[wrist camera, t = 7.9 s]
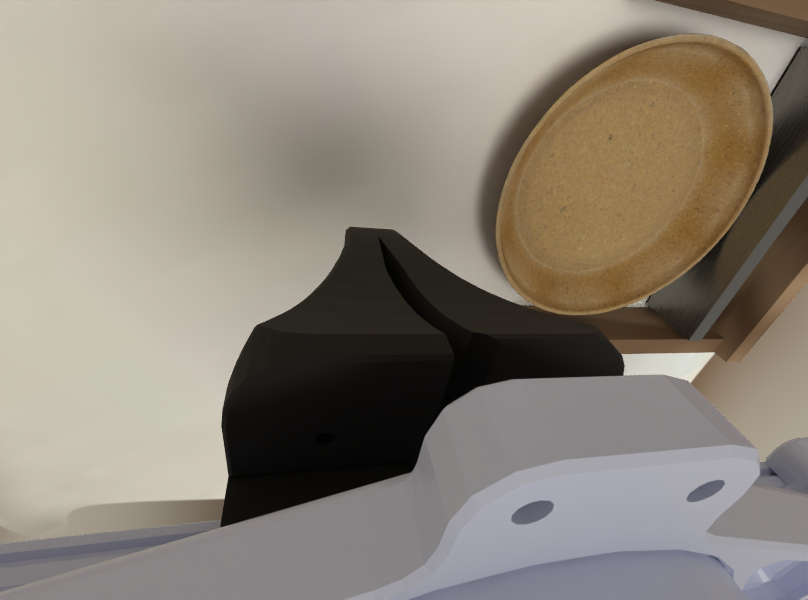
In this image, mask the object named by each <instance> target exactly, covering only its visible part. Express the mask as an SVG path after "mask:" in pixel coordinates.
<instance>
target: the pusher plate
mask: <svg viewBox="0 0 808 600" xmlns="http://www.w3.org/2000/svg"><path fill="white" fill-rule="evenodd" d="M771 100H772V106H773V128H772V136H771V143H770V146H769V152H768V156H767V158H766V162H765V165H764V168H763V171H762V173H761V175H760V178H759V180H758V182H757V184H756V186H755V189H754V191H753V192H752V194H751V196H750V198H749V200H748V202H747V203H746V205H745V207H744V208H743V210H742V212H741V213H740V215H739V216H738V218H737V219H736V220H735V222H734V223H733V225H732V226H731V227H730V229H729V230H728V231H727V232H726V233H725V235H724V236H723V237H722V238H721V239H720V240H719V241H718V243H717V244H716V245H715V246H714V247H713V248H712V249H711V250H710V251H709V252H708V253H707V254H706V255H705V256H704V257H703V258H702V259H701V260H700V261H699V262H697V263H696V264H695V265H694V266H693V267H692V268H691V269H689V270H688V271H687V272H686V273H684V274H683V275H682V276H680V277H679V278H678V279H676V280H675V281H674V282H672V283H671V284H669V285H667V286H665V287H663V288H662V289H661V290H659V291H657V292H656V293H654V294H652V296H651V297H650V299H649V301H648V302H647V305H648V306H649V307H650V308H651V309H653V310H654V311H655V312H656V313H657V314H658V315H659V316H661V317H662V318H663V319H664V320H665V321H666V322H668V323H669V324H670V325H671V326H672V327H673V328H674V329H676V330H677V331H678V332H679V333H680V334H681V335H683V336H684V337H685V338H686V339H687V340H688V341H701V340H702V338H703V337H704V336H705V334H706V333H707V332H708V330H709V329H710V328H711V326H712V325H713V324H714V322H715V321H716V320H717V318H718V317H719V316H720V314H721V313H722V311H723V310H724V309H725V307H726V306H727V305H728V303H729V302H730V301H731V299H732V298H733V297H734V295H735V294H736V293H737V291H738V290H739V289H740V287H741V286H742V284H743V283H744V282H745V280H746V279H747V278H748V276H749V275H750V274H751V272H752V271H753V270H754V268H755V267H756V266H757V264H758V263H759V262H760V260H761V259H762V257H763V256H764V255H765V253H766V252H767V251H768V249H769V248H770V247H771V245H772V244H773V243H774V241H775V240H776V239H777V237H778V236H779V235H780V233H781V232H782V230H783V229H784V228H785V226H786V225H787V224H788V222H789V221H790V220H791V218H792V217H793V216H794V214H795V213H796V212H797V210H798V209H799V208H800V206H801V205H802V203H803V202H804V201H805V199H806V198H807V197H808V47H801V49H800V50H799V52H798V53H797V55H796V57H795V58H794V60H793V62H792V63H791V65H790V67H789V68H788V70H787V72H786V73H785V75H784V77H783V78H782V80H781V82H780V83H779V85H778V87H777V88H776V90H775V92H774V93H773V95H772V97H771Z"/></svg>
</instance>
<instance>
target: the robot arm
mask: <svg viewBox="0 0 808 600" xmlns="http://www.w3.org/2000/svg"><path fill="white" fill-rule="evenodd" d="M624 367H625V366H624V362H623V358H622V355H621V354H620V352H619V351H618V350H617V349H616V348H615V347H614V346H613V344H612V343H611V342H610V341H609V340H608V339H607V338H606V336H605V335H604V334H603V333H602V332H601V331H600V330H599V328H598V327H596V326H593V325H589V324H585V323H581V322H577V321H573V320H568V319H564V318H560V317H556V316H552V315H548V314H545V313H542V312H539V311H536V310H533V309H529V308H526V307H524V306H521V305H518V304H515V303H512V302H510V301H507V300H505V299H503V298H500V297H498V296H496V295H493V294H491V293H489V292H486V291H484V290H482V289H480V288H478V287H476V286H474V285H473V284H471V283H469V282H467V281H465V280H463V279H461V278H460V277H458V276H456V275H455V274H453V273H452V272H450V271H449V270H447V269H446V268H444V267H443V266H441V265H440V264H438V263H437V262H435V261H434V260H432V259H431V258H430V257H428V256H427V255H426V254H424V253H423V252H422V251H421V250H419V249H418V248H417V247H415V246H414V245H413V244H412V243H410V242H409V241H408V240H407V239H405V238H404V237H403V236H402V235H400V234H399V233H397V232H396V231H394V230H390V229H375V228H360V227H349V228H348V229H347V230H346V234H345V245H344V248H343V250H342V253H341V255H340V257H339V259H338V261H337V262H336V264H335V266H334V267H333V269H332V270H331V272H330V273H329V275H328V276H327V277H326V279H325V280H324V281H323V282H322V283H321V284H320V285H319V287H317V288H316V289H315V290H314V291H313V292H312V293H311V294H310V295H309V296H308V297H307V298H306V299H305V300H303V301H302V302H301V303H299V304H298V305H296V306H295V307H293V308H292V309H290V310H288V311H286V312H285V313H283V314H281V315H278V316H276V317H274V318H272V319H270V320H268V321H266V322H263V323H261V324H258V325H257V326H256V327H255V328H254V329H253V331H252V333H251V335H250V336H249V338H248V340H247V342H246V344H245V345H244V347H243V349H242V351H241V354H240V356H239V358H238V360H237V362H236V365H235V367H234V369H233V372H232V375H231V377H230V380H229V383H228V387H227V391H226V396H225V401H224V406H223V412H222V425H221V426H222V433H223V440H224V447H225V454H226V461H227V468H228V475H229V477H228V483H227V489H226V495H225V501H224V507H223V513H222V519H221V520H215V521H206V522H196V523H188V524H178V525H168V526H159V527H150V528H141V529H131V530H121V531H112V532H103V533H94V534H84V535H76V536H75V535H74V536H66V537H56V538H46V539H37V540H28V541H19V542H9V543H0V600H808V437H807V438H797V439H792V440H789V441H787V442H785V443H783V444H782V445H780V446H779V447H777V448H776V449H775V450H774V451H773V452H772V453H771V454H770V455H769V456H768V457H767V458H766V461H765V462H760V460H759V455H758V451H757V448H756V447H755V446H754V445H753V444H752V443H751V442H750V441H749V440H747V438H746V437H745V436H744V435H742V434H741V433H740V432H739V431H738V430H737V429H736V428H735V427H734V426H733V425H732V424H731V423H730V422H729V421H728V420H727V419H726V418H725V417H724V416H723V415H722V414H721V413H720V412H719V411H718V410H717V409H716V408H715V407H714V406H713V405H712V404H711V403H710V402H709V401H708V400H707V399H706V398H705V397H704V396H703V395H702V394H700V393H699V392H698V391H697V390H696V389H695V388H694V387H693V386H692V385H691V384H690V383H689V382H688V381H686V380H682V379H678V378H674V377H670V376H666V375H631V376H623V373H624Z"/></svg>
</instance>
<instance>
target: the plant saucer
mask: <svg viewBox="0 0 808 600" xmlns="http://www.w3.org/2000/svg"><path fill="white" fill-rule="evenodd" d="M772 128H773V106H772V100H771V96H770V90H769V87H768V83H767V81H766V79H765V76H764V75H763V73H762V71H761V69H760V68H759V66H758V65H757V63H756V62H755V61H754V59H753V58H752V57H751V56H750V55H749V54H748V53H747V52H746V51H745V50H744V49H743V48H741V47H739V46H737V45H735V44H733V43H732V42H730V41H727V40H725V39H722V38H718V37H715V36H712V35H703V34H676V35H670V36H666V37H661V38H657V39H653V40H650V41H647V42H644V43H641V44H639V45H636V46H634V47H631V48H629V49H627V50H625V51H623V52H621V53H619V54H617V55H615V56H614V57H612V58H610V59H608V60H607V61H605V62H604V63H602V64H600V65H599V66H597V67H596V68H595V69H593V70H592V71H590V72H589V73H588V74H586V75H585V76H584V77H582V78H581V79H580V80H579V81H577V82H576V83H575V84H574V85H573V86H572V87H570V88H569V89H568V90H567V91H566V92H565V93H564V94H563V95H562V96H561V97H560V98H559V99H558V100H557V101H556V102H555V103H554V104H553V105H552V106H551V108H550V109H549V110H548V111H547V112H546V113H545V115H544V116H543V117H542V118H541V120H540V121H539V122H538V123H537V125H536V126H535V127H534V129H533V130H532V132H531V133H530V135H529V136H528V137H527V139H526V141H525V142H524V144H523V145H522V147H521V149H520V150H519V152H518V154H517V156H516V158H515V160H514V162H513V164H512V166H511V168H510V170H509V173H508V175H507V178H506V180H505V183H504V186H503V190H502V193H501V196H500V200H499V205H498V210H497V217H496V230H495V234H496V237H495V238H496V247H497V253H498V257H499V260H500V264H501V267H502V269H503V272H504V274H505V276H506V278H507V280H508V281H509V283H510V284H511V285H512V287H513V289H514V290H515V291H516V292H517V293H518V294H519V295H520V296H522V297H523V298H524V299H525V300H526V301H528V302H530V303H532V304H533V305H534V306H536V307H538V308H541V309H543V310H545V311H550V312H554V313H557V314H564V315H588V314H590V315H591V314H598V313H604V312H608V311H612V310H615V309H619V308H622V307H624V306H628V305H630V304H633V303H635V302H637V301H640V300H642V299H644V298H646V297H648V296H650V295H652V294H654V293H656V292H657V291H659V290H661V289H662V288H663V287H665V286H667V285H669V284H671V283H672V282H674V281H675V280H676V279H678V278H679V277H680V276H682V275H683V274H684V273H686V272H687V271H688V270H689V269H691V268H692V267H693V266H694V265H695V264H696V263H697V262H699V261H700V260H701V259H702V258H703V257H704V256H705V255H706V254H707V253H708V252H709V251H710V250H711V249H712V248H713V247H714V246H715V245H716V244H717V243H718V241H719V240H720V239H721V238H722V237H723V236H724V235H725V233H726V232H727V231H728V230H729V229H730V227H731V226H732V225H733V223H734V222H735V220H736V219H737V218H738V216H739V215H740V213H741V212H742V210H743V208H744V207H745V205H746V203H747V202H748V200H749V198H750V196H751V194H752V192H753V191H754V189H755V186H756V184H757V182H758V180H759V178H760V175H761V173H762V171H763V168H764V165H765V162H766V158H767V156H768V152H769V146H770V143H771V136H772Z"/></svg>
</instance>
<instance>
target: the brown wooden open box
mask: <svg viewBox="0 0 808 600" xmlns="http://www.w3.org/2000/svg"><path fill="white" fill-rule="evenodd" d="M656 1H660V2H664V3H668V4H672V5H676V6H680V7H684V8H689V9H693V10H697V11H701V12H705V13H709V14H713V15H717V16H721V17H725V18H729V19H733V20H737V21H741V22H745V23H749V24H753V25H757V26H761V27H765V28H769V29H773V30H777V31H781V32H785V33H789V34H793V35H797V36H801V37H805V38H808V0H656ZM807 282H808V197H807V198H806V199H805V201H804V202H803V203H802V205H801V206H800V208H799V209H798V210H797V212H796V213H795V214H794V216H793V217H792V218H791V220H790V221H789V222H788V224H787V225H786V226H785V228H784V229H783V230H782V232H781V233H780V235H779V236H778V237H777V239H776V240H775V241H774V243H773V244H772V245H771V247H770V248H769V249H768V251H767V252H766V253H765V255H764V256H763V257H762V259H761V260H760V262H759V263H758V264H757V266H756V267H755V268H754V270H753V271H752V272H751V274H750V275H749V276H748V278H747V279H746V280H745V282H744V283H743V284H742V286H741V287H740V289H739V290H738V291H737V293H736V294H735V295H734V297H733V298H732V299H731V301H730V302H729V303H728V305H727V306H726V307H725V309H724V310H723V311H722V313H721V314H720V316H719V317H718V318H717V320H716V321H715V322H714V324H713V325H712V326H711V328H710V329H709V330H708V332H707V333H706V334H705V336H704V337H703V338H702V340H701V341H688V340H687V339H686V338H685V337H684V336H683V335H681V334H680V333H679V332H678V331H677V330H676V329H674V328H673V327H672V326H671V325H670V324H669V323H668V322H666V321H665V320H664V319H663V318H662V317H661V316H659V315H658V314H657V313H656V312H655V311H654V310H653V309H651V308H619V309H615V310H612V311H608V312H604V313H598V314H591V315H590V314H588V315H564V314H557V313H554V312H550V311H545V310H543V309H541V308H538V307H536V306H524V307H526V308H529V309H533V310H536V311H539V312H542V313H545V314H548V315H552V316H556V317H560V318H564V319H568V320H573V321H577V322H581V323H585V324H589V325H593V326H596V327H598V328H599V330H600V331H601V332H602V333H603V334H604V335H605V336H606V338H607V339H608V340H609V341H610V342H611V343H612V344H613V346H614V347H615V348H616V349H617V350H618V351H619V352H620V354H644V353H700V352H715V353H716V354H717V355H718V356H720V357H721V358H722V359H723V360H724V361H725V362H740V361H741V360H742V359H743V358H744V356H745V355H746V354H747V353H748V352H749V350H750V349H751V348H752V347H753V346H754V345H755V343H756V342H757V341H758V340H759V339H760V337H761V336H762V335H763V334H764V333H765V331H766V330H767V329H768V328H769V326H771V324H772V323H773V322H774V321H775V320H776V318H777V317H778V316H779V315H780V314H781V312H782V311H783V310H784V309H785V308H786V307H787V305H788V304H789V303H790V302H791V301H792V299H793V298H794V297H795V296H796V294H798V292H799V291H800V290H801V289H802V288H803V286H804V285H805V284H806V283H807Z"/></svg>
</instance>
